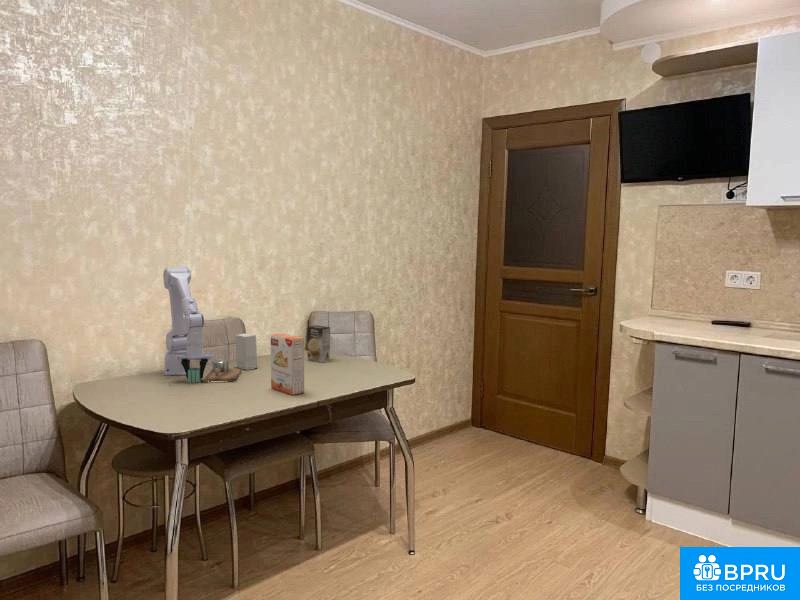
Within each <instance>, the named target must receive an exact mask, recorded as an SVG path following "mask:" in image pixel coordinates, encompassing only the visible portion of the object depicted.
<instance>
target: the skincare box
mask: <svg viewBox="0 0 800 600" xmlns="http://www.w3.org/2000/svg"><path fill="white" fill-rule="evenodd" d="M235 350H236V352H235V353H236V368H237V367H239V368H238V369H241V368H242V370H244V369H245V371H248V370H256V369H255V368H257V369H258V354H257V353H258V352H257V334H251V333H239V334H235Z"/></svg>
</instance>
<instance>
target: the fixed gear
mask: <svg viewBox="0 0 800 600" xmlns="http://www.w3.org/2000/svg"><path fill="white" fill-rule="evenodd" d="M229 365H230V364H229V360H227V359H222V358H219V359H218V360H212V369H213V371H214V372H215V368H219V372H226V371H229V369H230V366H229Z"/></svg>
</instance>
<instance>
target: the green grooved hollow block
mask: <svg viewBox="0 0 800 600" xmlns="http://www.w3.org/2000/svg"><path fill="white" fill-rule="evenodd" d="M200 381H201V382H202V381H203V378H200V366H199V367H197V366H196V367H194V366H192V367H190V369H189V370H188V378H187V383H188V384H198V383H197V382H200ZM191 382H192V383H191ZM195 382H196V383H195ZM201 382H200V383H201Z"/></svg>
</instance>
